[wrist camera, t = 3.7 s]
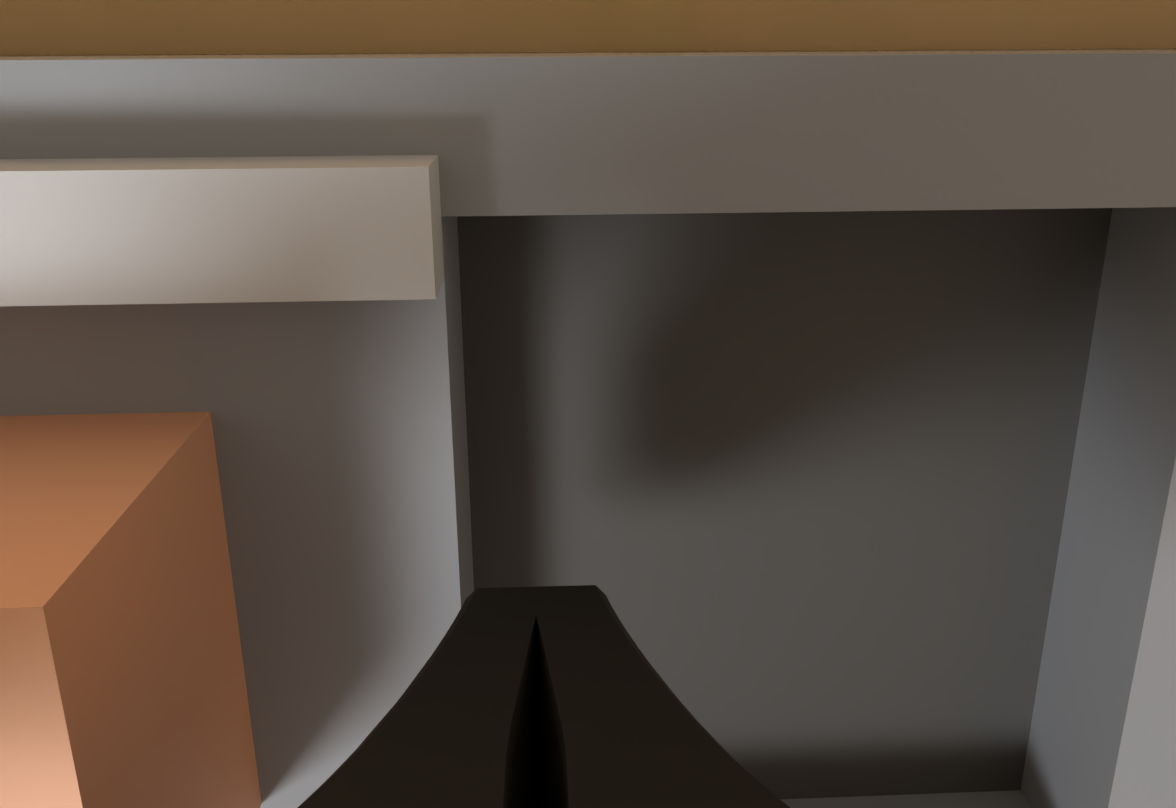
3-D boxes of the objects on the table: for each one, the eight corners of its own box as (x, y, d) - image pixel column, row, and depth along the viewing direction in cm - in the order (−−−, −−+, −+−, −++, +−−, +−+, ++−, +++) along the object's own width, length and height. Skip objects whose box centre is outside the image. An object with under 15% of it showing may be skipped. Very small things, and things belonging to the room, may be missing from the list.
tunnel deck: (1243, 841, 17) (1416, 1037, 14) (-741, 922, 15) (-1087, 1162, 12) (1439, 47, 13) (1751, 50, 10) (-1204, 62, 12) (-1899, 74, 8)
